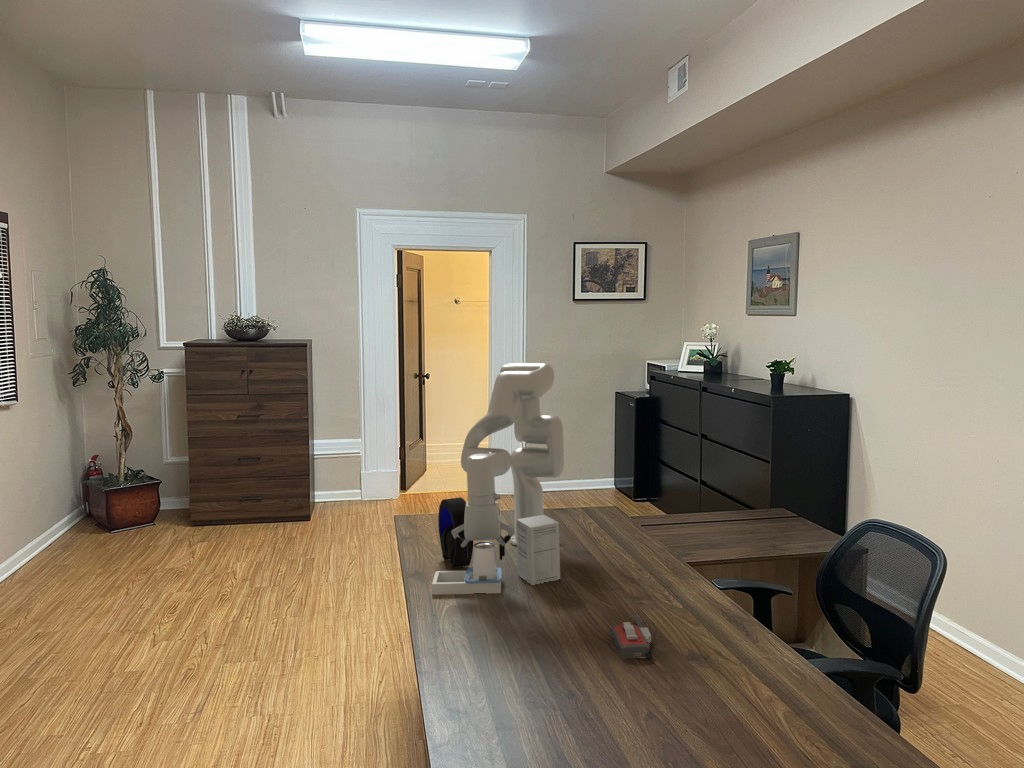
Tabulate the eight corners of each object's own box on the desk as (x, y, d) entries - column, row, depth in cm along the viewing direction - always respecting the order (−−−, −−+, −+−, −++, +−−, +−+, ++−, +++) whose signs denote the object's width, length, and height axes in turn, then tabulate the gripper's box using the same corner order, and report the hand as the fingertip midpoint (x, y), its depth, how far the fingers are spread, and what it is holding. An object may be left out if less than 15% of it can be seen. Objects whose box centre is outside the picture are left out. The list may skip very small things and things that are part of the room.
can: (500, 584, 200) (499, 542, 199) (490, 592, 194) (489, 549, 193) (480, 581, 203) (479, 539, 202) (469, 589, 197) (468, 546, 196)
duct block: (502, 579, 203) (501, 564, 203) (501, 593, 193) (501, 577, 193) (436, 581, 204) (435, 565, 203) (432, 595, 194) (431, 578, 193)
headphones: (476, 572, 210) (474, 505, 208) (455, 575, 208) (452, 508, 206) (457, 552, 227) (455, 491, 225) (437, 555, 225) (435, 493, 223)
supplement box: (546, 569, 211) (544, 513, 209) (561, 579, 202) (560, 521, 201) (516, 575, 206) (515, 518, 205) (531, 586, 198) (530, 527, 196)
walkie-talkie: (661, 661, 155) (639, 622, 175) (661, 642, 154) (639, 604, 174) (621, 663, 154) (604, 623, 174) (621, 644, 154) (604, 606, 174)
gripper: (513, 494, 200) (515, 553, 202) (451, 496, 200) (453, 555, 202) (513, 502, 192) (515, 563, 194) (448, 504, 192) (451, 565, 195)
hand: (483, 558), depth 198 cm, fingers open, 9 cm apart
